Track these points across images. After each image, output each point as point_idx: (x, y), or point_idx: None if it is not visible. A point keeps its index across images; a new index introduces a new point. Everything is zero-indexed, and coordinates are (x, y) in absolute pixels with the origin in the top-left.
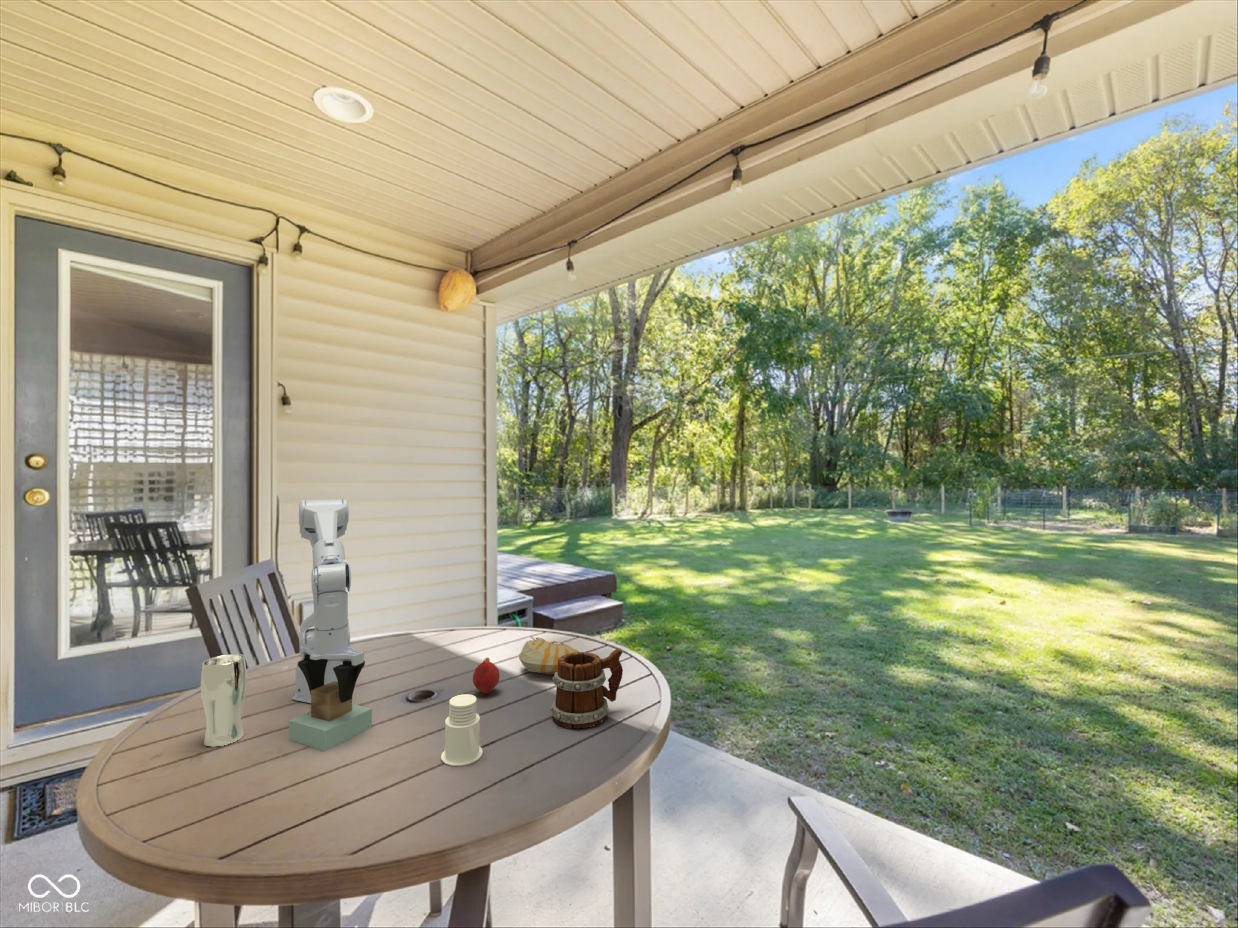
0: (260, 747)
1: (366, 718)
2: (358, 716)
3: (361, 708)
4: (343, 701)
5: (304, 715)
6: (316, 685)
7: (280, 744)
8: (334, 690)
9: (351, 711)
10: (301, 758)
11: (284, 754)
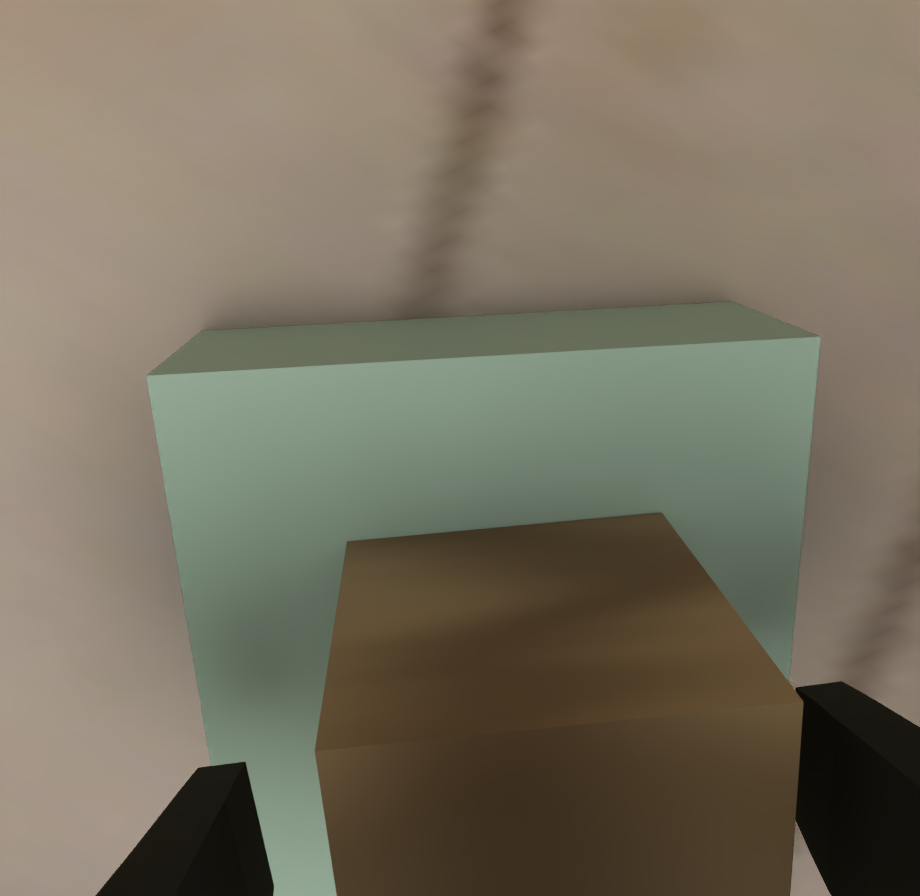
0: (857, 65)
1: None
2: (218, 762)
3: None
4: (189, 782)
5: (767, 498)
6: (876, 841)
7: (724, 202)
8: (409, 874)
9: None
10: (259, 127)
11: (493, 95)
